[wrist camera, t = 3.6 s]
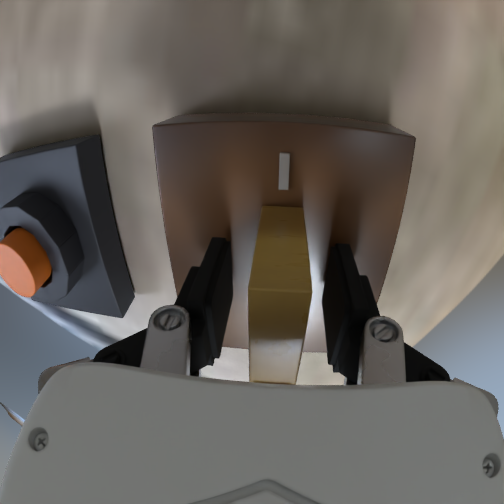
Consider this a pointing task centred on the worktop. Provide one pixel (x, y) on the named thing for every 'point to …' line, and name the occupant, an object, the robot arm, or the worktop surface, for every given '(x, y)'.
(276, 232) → the lock knob
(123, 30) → the worktop surface
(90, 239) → the doorbell
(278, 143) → the plate
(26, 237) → the bell button
